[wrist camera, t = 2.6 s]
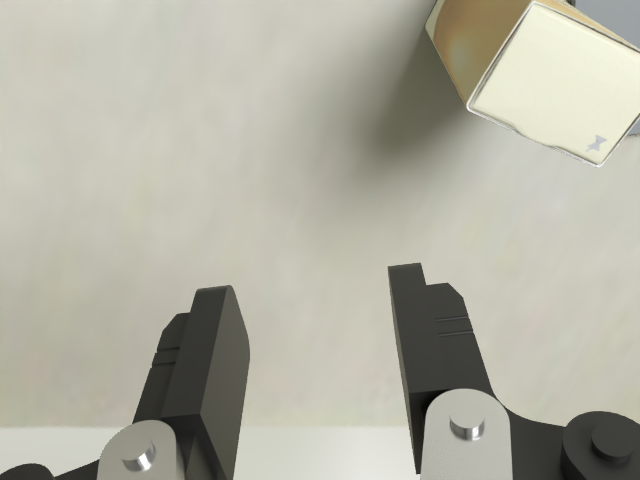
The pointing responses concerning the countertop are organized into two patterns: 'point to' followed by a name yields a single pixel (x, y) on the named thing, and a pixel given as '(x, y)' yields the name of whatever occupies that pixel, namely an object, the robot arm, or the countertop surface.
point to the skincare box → (541, 72)
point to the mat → (615, 22)
